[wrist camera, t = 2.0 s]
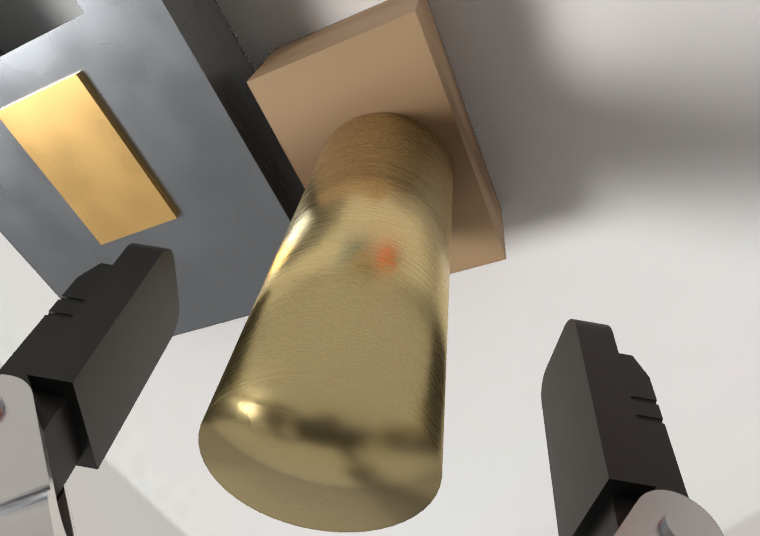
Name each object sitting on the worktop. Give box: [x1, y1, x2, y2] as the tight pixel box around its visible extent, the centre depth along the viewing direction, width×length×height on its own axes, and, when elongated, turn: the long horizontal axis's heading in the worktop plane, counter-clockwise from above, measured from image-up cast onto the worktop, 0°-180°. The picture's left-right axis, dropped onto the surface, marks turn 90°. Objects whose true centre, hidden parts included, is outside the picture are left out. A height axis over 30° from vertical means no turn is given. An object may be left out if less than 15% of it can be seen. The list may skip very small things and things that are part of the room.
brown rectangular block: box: [247, 0, 506, 274], centre depth 19 cm, size 8×5×3 cm, turn 23°
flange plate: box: [0, 0, 305, 336], centre depth 18 cm, size 19×10×3 cm, turn 23°
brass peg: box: [199, 112, 453, 532], centre depth 14 cm, size 4×4×10 cm
